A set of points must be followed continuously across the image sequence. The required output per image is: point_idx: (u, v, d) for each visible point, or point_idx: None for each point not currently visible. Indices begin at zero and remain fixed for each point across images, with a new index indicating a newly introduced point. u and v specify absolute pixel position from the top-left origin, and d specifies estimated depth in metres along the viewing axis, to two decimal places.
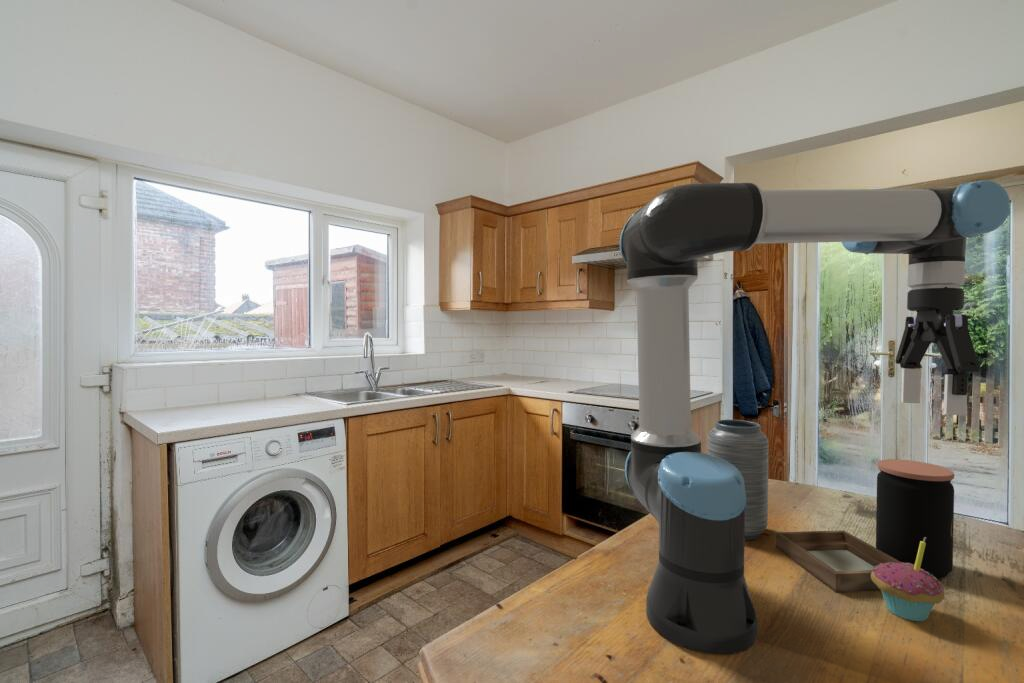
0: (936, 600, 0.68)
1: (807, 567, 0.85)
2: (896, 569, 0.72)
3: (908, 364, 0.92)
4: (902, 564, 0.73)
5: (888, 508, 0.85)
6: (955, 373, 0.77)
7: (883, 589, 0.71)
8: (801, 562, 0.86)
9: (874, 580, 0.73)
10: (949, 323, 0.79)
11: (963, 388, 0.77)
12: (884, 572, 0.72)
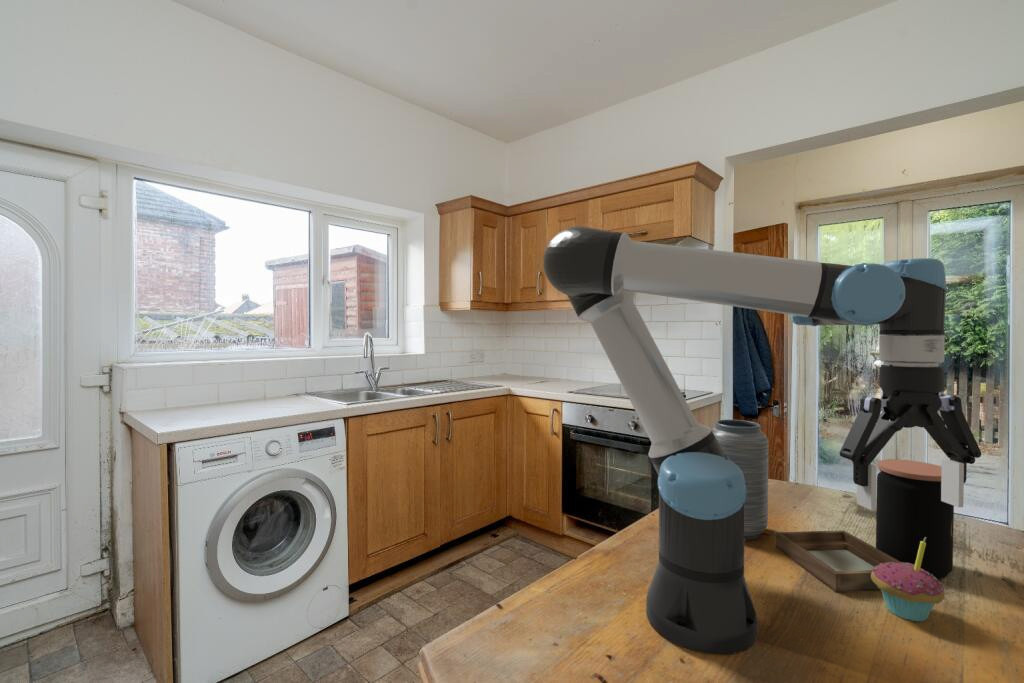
0: (936, 600, 0.68)
1: (807, 567, 0.85)
2: (896, 569, 0.72)
3: (952, 455, 0.73)
4: (902, 564, 0.73)
5: (888, 508, 0.85)
6: None
7: (883, 589, 0.71)
8: (801, 562, 0.86)
9: (874, 580, 0.73)
10: (861, 406, 0.72)
11: (858, 477, 0.71)
12: (885, 572, 0.72)
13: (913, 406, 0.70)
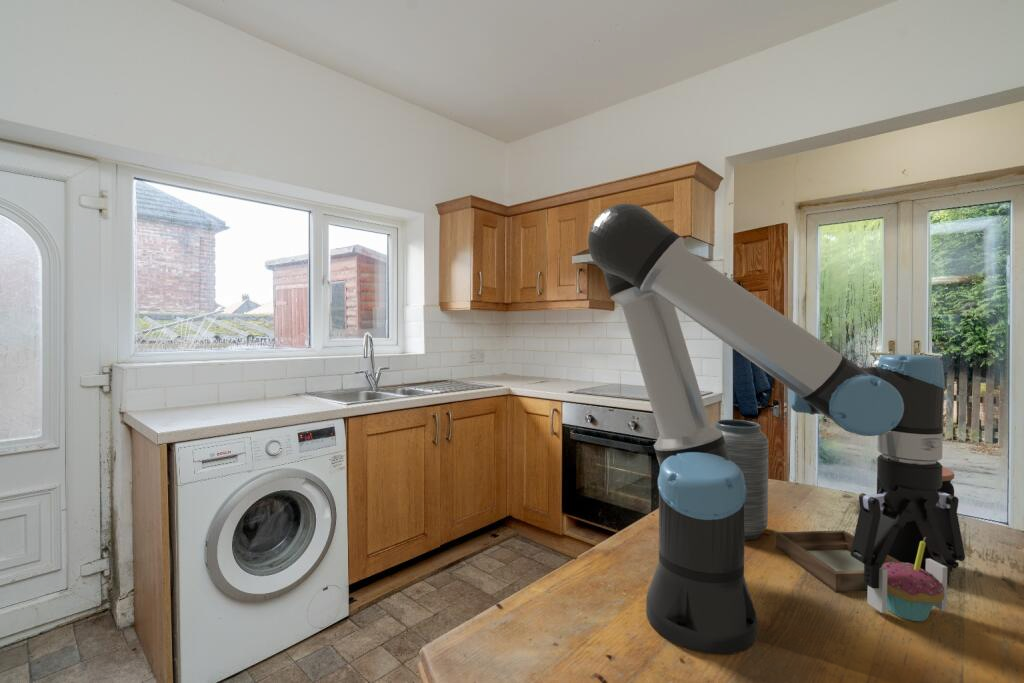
0: (936, 600, 0.68)
1: (807, 567, 0.85)
2: (896, 569, 0.72)
3: (936, 555, 0.73)
4: (902, 564, 0.73)
5: None
6: None
7: None
8: (801, 562, 0.86)
9: None
10: None
11: (869, 579, 0.72)
12: None
13: (910, 502, 0.70)
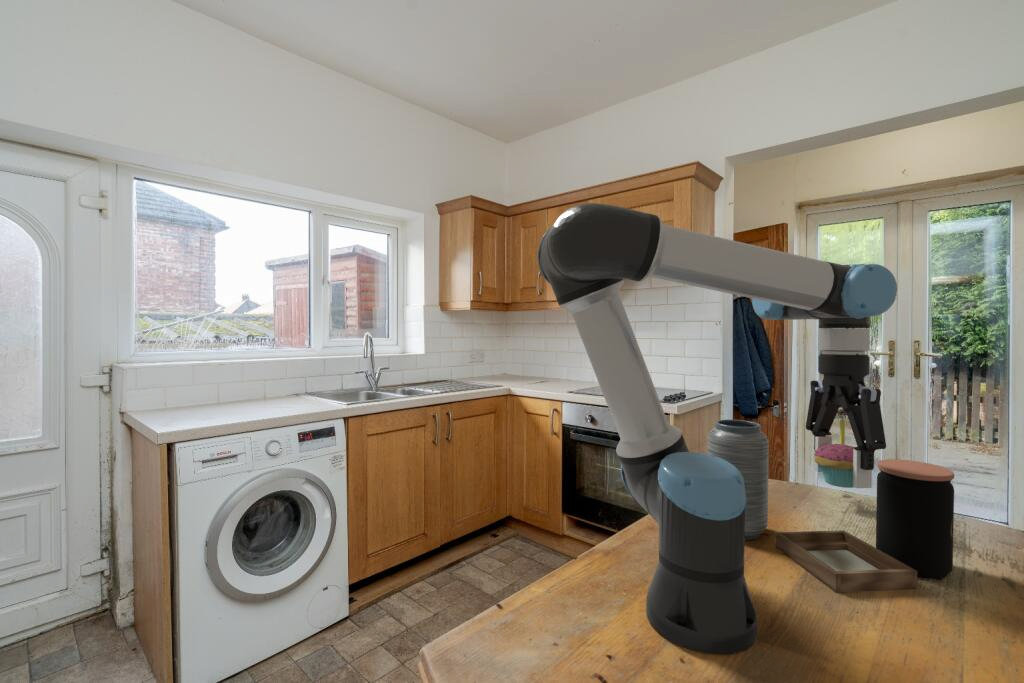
0: None
1: (807, 567, 0.85)
2: (849, 449, 0.84)
3: (820, 431, 0.91)
4: (837, 445, 0.86)
5: (888, 508, 0.85)
6: (864, 449, 0.80)
7: None
8: (801, 562, 0.86)
9: (851, 466, 0.82)
10: (865, 398, 0.79)
11: (871, 463, 0.80)
12: None
13: None
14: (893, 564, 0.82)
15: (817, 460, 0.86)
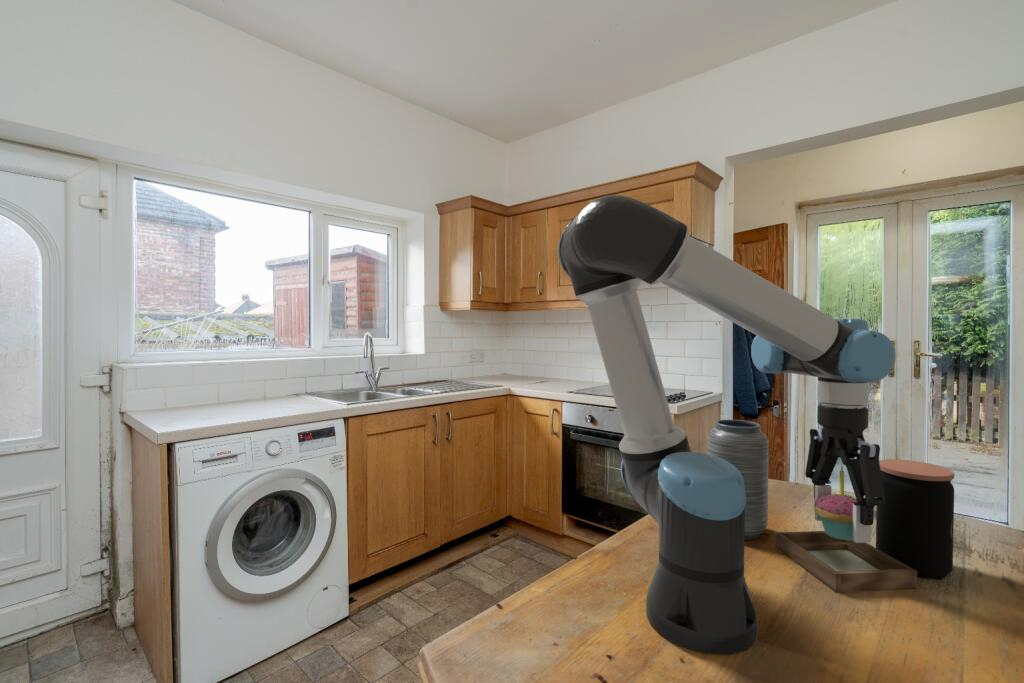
0: None
1: (807, 567, 0.85)
2: (849, 501, 0.84)
3: (819, 480, 0.91)
4: (836, 497, 0.86)
5: (888, 508, 0.85)
6: (863, 505, 0.80)
7: None
8: (801, 562, 0.86)
9: (851, 520, 0.82)
10: (864, 454, 0.79)
11: (870, 518, 0.80)
12: None
13: None
14: (893, 564, 0.82)
15: (816, 511, 0.87)
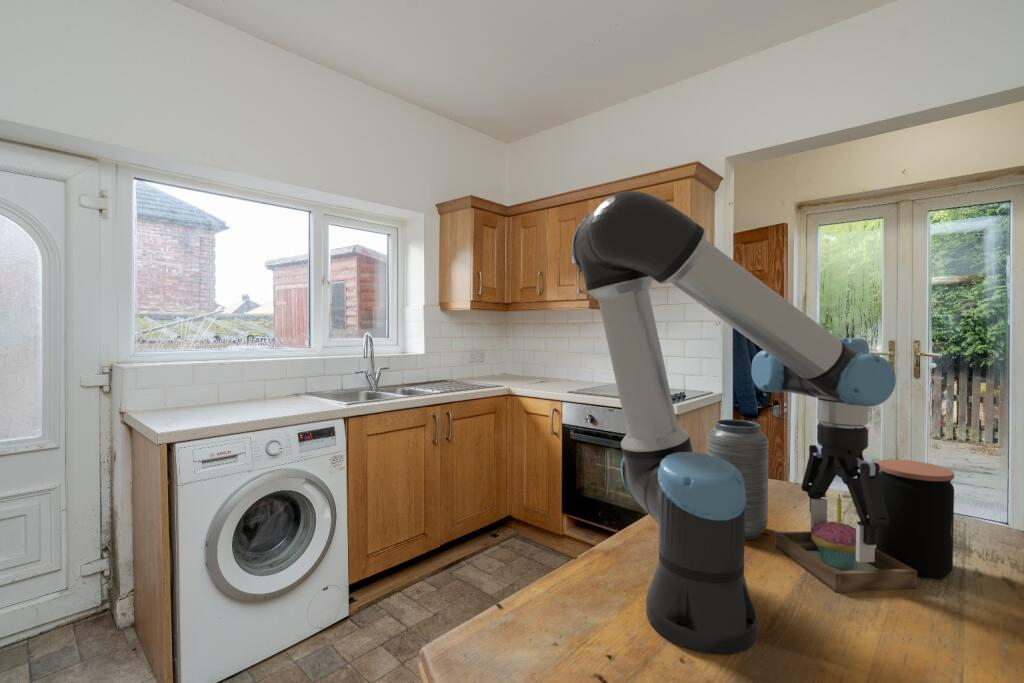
0: None
1: (807, 567, 0.85)
2: (845, 530, 0.85)
3: (815, 494, 0.92)
4: (833, 525, 0.87)
5: (888, 508, 0.85)
6: (867, 524, 0.79)
7: None
8: (801, 562, 0.86)
9: (847, 549, 0.83)
10: (864, 473, 0.79)
11: (874, 538, 0.79)
12: (850, 537, 0.83)
13: None
14: (893, 564, 0.82)
15: (813, 539, 0.87)
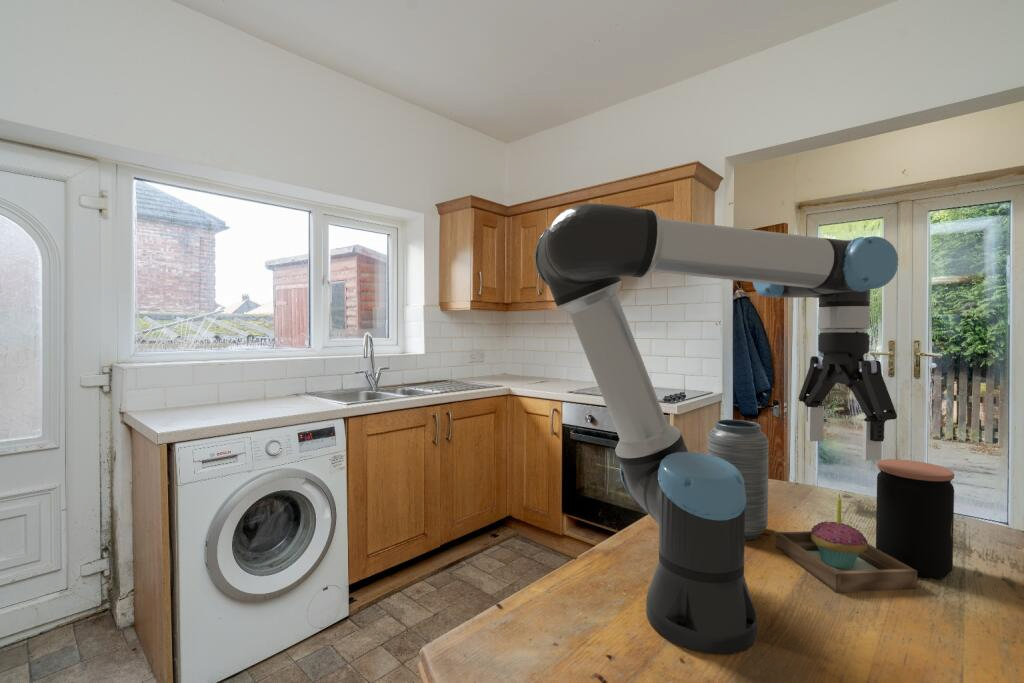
0: None
1: (807, 567, 0.85)
2: (845, 530, 0.85)
3: (812, 403, 0.93)
4: (833, 525, 0.87)
5: (888, 508, 0.85)
6: (874, 420, 0.78)
7: (859, 551, 0.83)
8: (801, 562, 0.86)
9: (847, 549, 0.83)
10: (866, 369, 0.79)
11: (881, 434, 0.78)
12: (850, 537, 0.83)
13: None
14: (893, 564, 0.82)
15: (813, 539, 0.87)
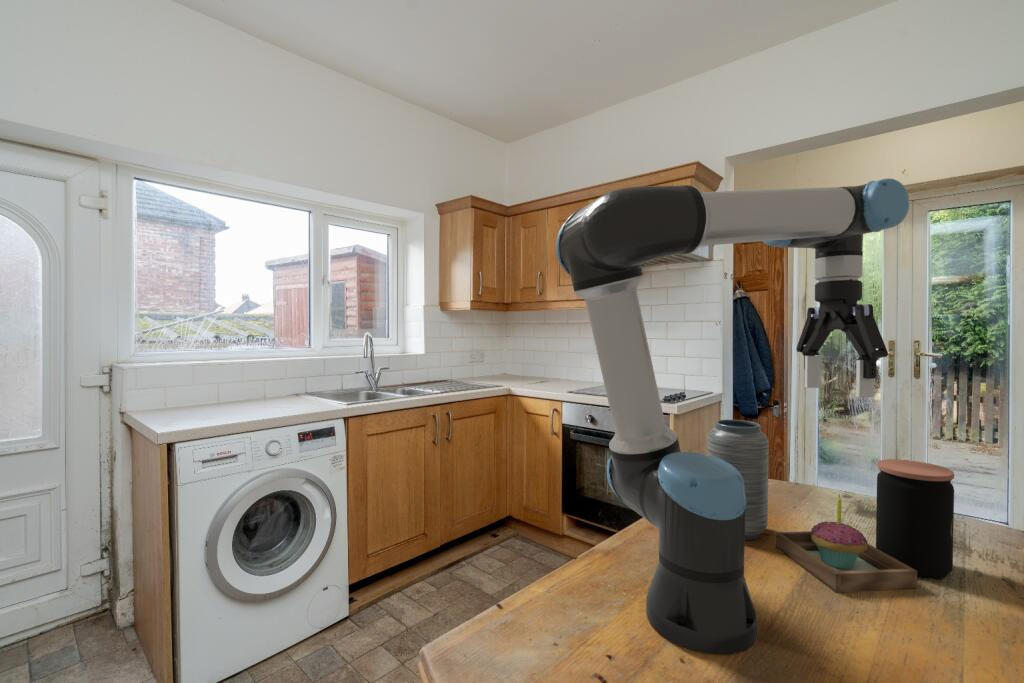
0: None
1: (807, 567, 0.85)
2: (845, 530, 0.85)
3: (809, 352, 0.99)
4: (833, 525, 0.87)
5: (888, 508, 0.85)
6: (867, 358, 0.83)
7: (859, 551, 0.83)
8: (801, 562, 0.86)
9: (847, 549, 0.83)
10: (859, 312, 0.85)
11: (873, 372, 0.83)
12: (850, 537, 0.83)
13: None
14: (893, 564, 0.82)
15: (813, 539, 0.87)
